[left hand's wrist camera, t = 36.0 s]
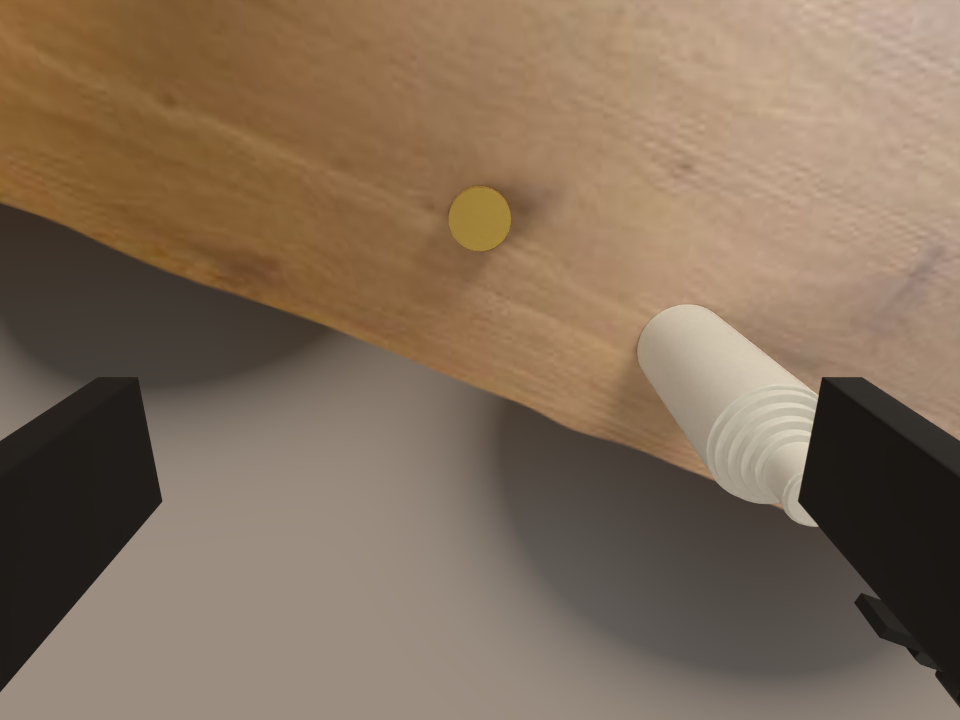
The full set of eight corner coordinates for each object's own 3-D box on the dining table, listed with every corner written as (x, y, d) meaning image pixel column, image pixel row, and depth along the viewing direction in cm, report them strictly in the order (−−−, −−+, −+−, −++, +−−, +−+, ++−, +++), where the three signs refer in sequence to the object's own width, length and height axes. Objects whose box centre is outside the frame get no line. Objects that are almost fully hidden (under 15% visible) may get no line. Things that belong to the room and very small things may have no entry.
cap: (521, 228, 44) (523, 232, 43) (468, 258, 45) (467, 263, 44) (491, 173, 43) (492, 174, 42) (437, 205, 44) (435, 208, 42)
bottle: (672, 406, 49) (796, 586, 30) (618, 344, 47) (714, 493, 28) (745, 351, 48) (927, 504, 28) (693, 285, 46) (848, 400, 26)
